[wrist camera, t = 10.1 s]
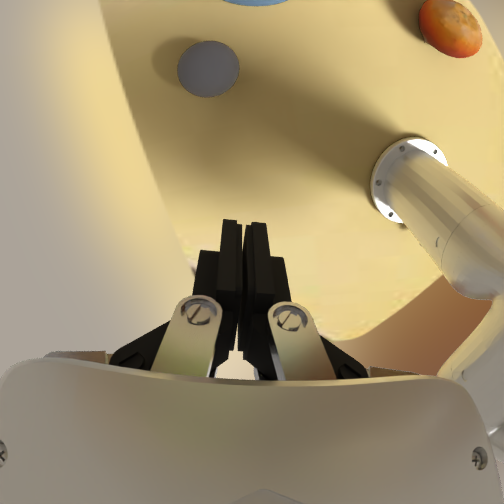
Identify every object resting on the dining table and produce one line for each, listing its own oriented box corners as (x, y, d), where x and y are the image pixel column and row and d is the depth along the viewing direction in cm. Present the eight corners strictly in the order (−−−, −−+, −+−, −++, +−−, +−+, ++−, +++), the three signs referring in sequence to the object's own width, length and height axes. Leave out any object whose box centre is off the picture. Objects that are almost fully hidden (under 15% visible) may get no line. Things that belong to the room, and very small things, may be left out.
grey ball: (229, 66, 21) (256, 46, 24) (169, 44, 21) (203, 26, 24) (214, 117, 26) (239, 90, 29) (162, 94, 26) (192, 71, 29)
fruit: (415, 60, 25) (451, 30, 17) (400, 13, 25) (428, -20, 17) (463, 76, 26) (500, 54, 18) (447, 30, 25) (478, 5, 17)
